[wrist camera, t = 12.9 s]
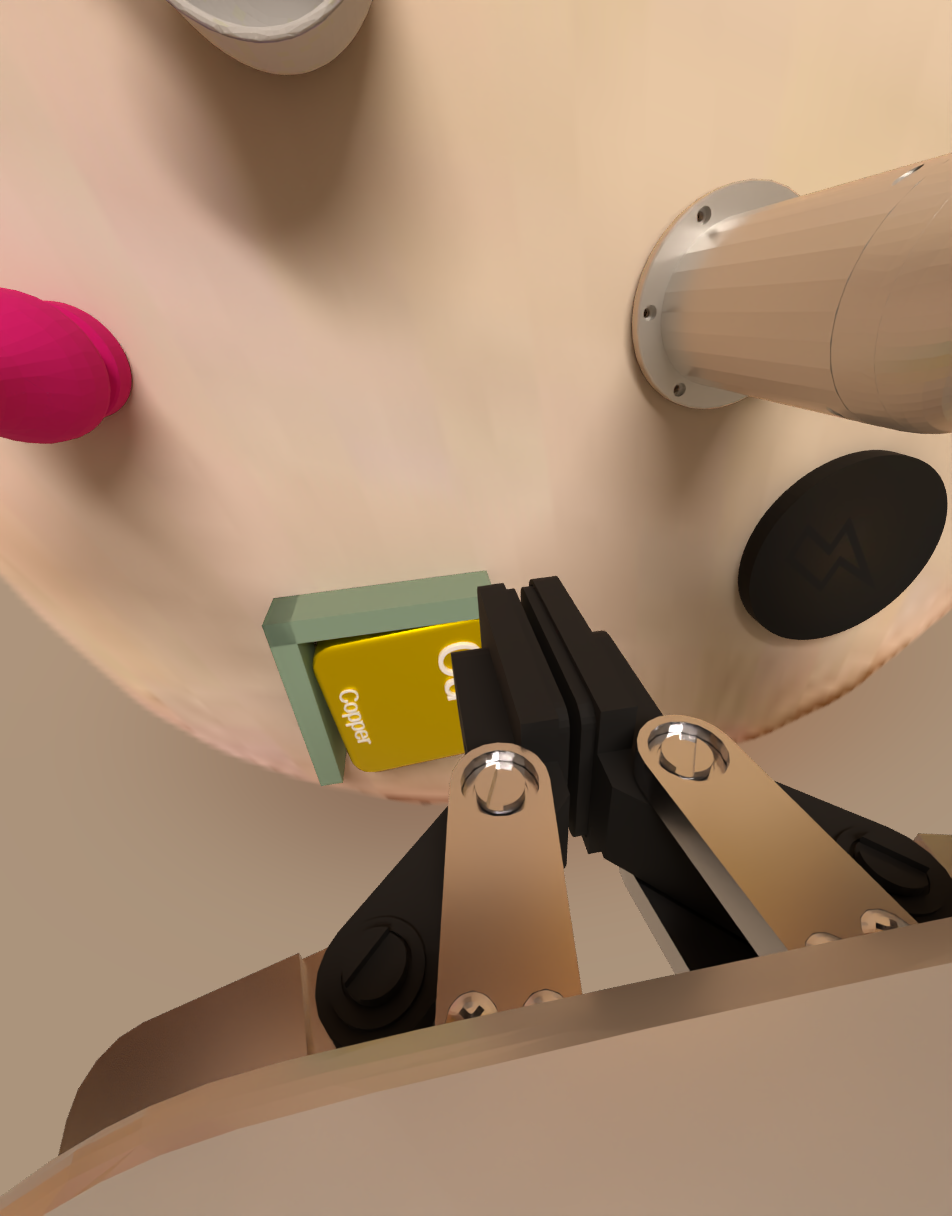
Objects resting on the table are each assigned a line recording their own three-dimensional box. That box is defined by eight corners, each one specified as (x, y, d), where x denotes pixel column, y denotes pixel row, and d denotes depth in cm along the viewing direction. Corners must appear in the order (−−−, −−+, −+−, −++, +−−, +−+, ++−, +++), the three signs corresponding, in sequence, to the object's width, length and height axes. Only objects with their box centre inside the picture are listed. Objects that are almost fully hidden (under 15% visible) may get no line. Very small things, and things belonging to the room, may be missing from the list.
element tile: (311, 622, 41) (302, 656, 37) (485, 587, 42) (495, 617, 37) (360, 743, 49) (357, 782, 45) (504, 712, 50) (514, 748, 46)
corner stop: (486, 570, 40) (494, 594, 37) (496, 725, 50) (504, 755, 46) (273, 598, 39) (261, 625, 35) (326, 752, 48) (321, 785, 45)
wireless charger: (865, 627, 50) (881, 637, 49) (710, 630, 48) (722, 641, 46) (965, 453, 41) (989, 459, 40) (781, 444, 39) (799, 450, 37)
